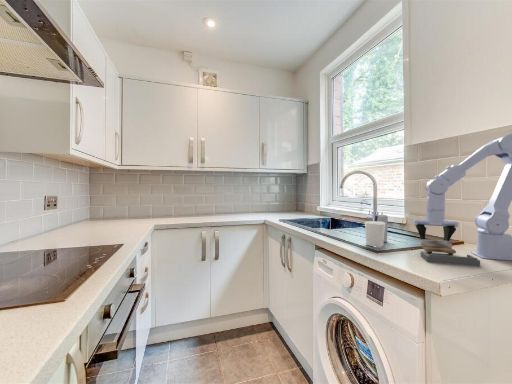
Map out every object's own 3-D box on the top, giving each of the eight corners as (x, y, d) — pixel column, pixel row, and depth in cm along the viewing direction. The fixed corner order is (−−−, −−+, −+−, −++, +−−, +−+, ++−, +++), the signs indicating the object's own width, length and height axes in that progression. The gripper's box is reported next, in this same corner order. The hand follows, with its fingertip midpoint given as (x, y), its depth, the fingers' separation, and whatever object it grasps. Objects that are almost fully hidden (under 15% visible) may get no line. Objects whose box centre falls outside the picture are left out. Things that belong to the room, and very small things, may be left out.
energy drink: (371, 240, 115) (372, 214, 115) (380, 239, 117) (380, 214, 117) (380, 242, 110) (381, 216, 110) (389, 241, 112) (390, 215, 112)
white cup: (360, 244, 107) (361, 221, 106) (372, 242, 111) (372, 220, 110) (377, 248, 100) (377, 224, 100) (388, 246, 104) (389, 223, 103)
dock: (463, 256, 90) (463, 249, 89) (479, 266, 79) (480, 258, 79) (416, 253, 94) (416, 246, 94) (426, 261, 84) (427, 254, 84)
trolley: (450, 252, 94) (451, 241, 93) (457, 256, 89) (457, 244, 89) (420, 250, 97) (421, 239, 96) (425, 254, 92) (425, 242, 92)
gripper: (452, 209, 97) (451, 243, 98) (411, 208, 102) (410, 240, 102) (461, 211, 91) (460, 247, 91) (416, 209, 95) (415, 244, 96)
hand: (434, 244), depth 96 cm, fingers open, 7 cm apart
